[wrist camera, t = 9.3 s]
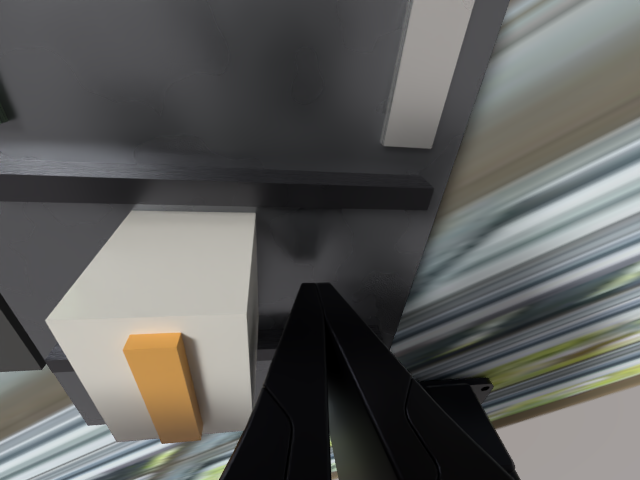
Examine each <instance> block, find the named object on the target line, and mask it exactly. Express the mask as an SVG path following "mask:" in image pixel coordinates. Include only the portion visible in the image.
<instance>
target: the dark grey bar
mask: <svg viewBox="0 0 640 480" xmlns="http://www.w3.org/2000/svg"><path fill="white" fill-rule="evenodd" d="M45 365H46V362H45V360H44V358H43V357H42V355H41V354H40V352H39V351H38V349H37V348H36V346H35V344H34V343H33V341H32V340H31V338H30V337H29V335H28V334H27V332H26V331H25V329H24V328H23V326H22V325H21V323H20V322H19V320H18V319H17V317H16V316H15V314H14V313H13V311H12V310H11V308H10V307H9V305H8V304H7V302H6V301H5V299H4V298H3V296H2V295H1V293H0V372H9V371H28V370H42V369H43V367H44V366H45Z"/></svg>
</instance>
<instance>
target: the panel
mask: <svg viewBox="0 0 640 480" xmlns="http://www.w3.org/2000/svg"><path fill="white" fill-rule="evenodd" d="M509 1H510V0H0V293H1V295H2V296H3V298H4V299H5V301H6V302H7V304H8V305H9V307H10V308H11V310H12V311H13V313H14V314H15V316H16V317H17V319H18V320H19V322H20V323H21V325H22V326H23V328H24V329H25V331H26V332H27V334H28V335H29V337H30V338H31V340H32V341H33V343H34V344H35V346H36V348H37V349H38V351H39V352H40V354H41V355H42V357H43V358H44V360H45V362H46V364H47V365H48V367H49V368H50V370H51V371H52V373H54V375H55V376H56V378H57V379H58V381H59V382H60V384H61V385H62V387H63V388H64V390H65V391H66V393H67V394H68V396H69V397H70V399H71V400H72V402H73V404H74V405H75V407H76V408H77V410H78V411H79V413H80V414H81V416H82V417H83V419H84V420H85V422H86V423H87V425H88V426H90V425H102V424H106V423H105V421H104V419H103V418H102V416H101V414H100V413H99V411H98V409H97V408H96V406H95V404H94V403H93V401H92V399H91V397H90V396H89V394H88V392H87V391H86V389H85V387H84V386H83V384H82V382H81V381H80V379H79V377H78V375H77V374H76V372H75V370H74V369H73V367H72V365H71V364H70V362H69V360H68V359H67V357H66V355H65V354H64V352H63V350H62V348H61V347H60V345H59V343H58V342H57V340H56V338H55V337H54V335H53V333H52V332H51V330H50V328H49V326H48V325H47V323H46V321H45V320H46V319H47V317H48V316H49V315H50V314H51V312H52V311H53V310H54V308H55V307H56V306H57V305H58V303H59V302H60V301H61V300H62V298H63V297H64V296H65V294H66V293H67V292H68V291H69V289H70V288H71V287H72V286H73V284H74V283H75V282H76V280H77V279H78V278H79V277H80V275H81V274H82V273H83V272H84V270H85V269H86V268H87V266H88V265H89V264H90V263H91V261H92V260H93V259H94V258H95V256H96V255H97V254H98V252H99V251H100V250H101V249H102V247H103V246H104V245H105V244H106V242H107V241H108V240H109V239H110V237H111V236H112V235H113V233H114V232H115V231H116V230H117V228H118V227H119V226H120V225H121V223H122V222H123V221H124V219H125V218H126V217H127V216H128V214H129V213H130V212H131V211H185V212H240V213H256V241H257V277H258V313H259V321H258V342H257V363H256V384H255V403H256V400H257V398H258V395H259V393H260V390H261V388H262V386H263V383H264V380H265V377H266V375H267V372H268V370H269V367H270V364H271V362H272V359H273V356H274V354H275V351H276V349H277V346H278V343H279V341H280V338H281V335H282V333H283V330H284V328H285V325H286V322H287V320H288V317H289V314H290V312H291V309H292V307H293V304H294V301H295V299H296V296H297V293H298V291H299V288H300V286H301V284H302V283H323V282H328V283H331V284H332V285H333V286H334V288H335V289H336V290H337V291H338V292H339V293H340V294H341V295H342V297H343V298H344V299H345V300H346V301H347V302H348V303H349V305H350V306H351V307H352V308H353V309H354V310H355V311H356V313H357V314H358V315H359V316H360V317H361V318H362V319H363V321H364V322H365V323H366V324H367V325H368V326H369V327H370V329H371V330H372V331H373V332H374V333H375V334H376V335H377V337H378V338H379V339H380V340H381V341H382V342H383V343H384V344H385V346H386V347H387V348H388V349H389V350H390V348H391V345H392V342H393V339H394V336H395V333H396V330H397V327H398V324H399V321H400V318H401V316H402V313H403V310H404V307H405V304H406V301H407V298H408V295H409V292H410V289H411V286H412V284H413V281H414V278H415V275H416V272H417V269H418V266H419V263H420V260H421V257H422V254H423V252H424V249H425V246H426V243H427V240H428V237H429V234H430V231H431V228H432V225H433V222H434V220H435V217H436V214H437V211H438V208H439V205H440V202H441V199H442V196H443V193H444V190H445V188H446V185H447V182H448V179H449V176H450V173H451V170H452V167H453V164H454V161H455V158H456V156H457V153H458V150H459V147H460V144H461V141H462V138H463V135H464V132H465V129H466V127H467V124H468V121H469V118H470V115H471V112H472V109H473V106H474V103H475V100H476V97H477V95H478V92H479V89H480V86H481V83H482V80H483V77H484V74H485V71H486V68H487V65H488V63H489V60H490V57H491V54H492V51H493V48H494V45H495V42H496V39H497V36H498V33H499V31H500V28H501V25H502V22H503V19H504V16H505V13H506V10H507V7H508V4H509ZM254 406H255V405H254Z"/></svg>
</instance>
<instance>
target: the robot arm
mask: <svg viewBox="0 0 640 480" xmlns="http://www.w3.org/2000/svg"><path fill="white" fill-rule="evenodd" d="M411 378H412V375H411V374H410V373H409V372H408V371H407V370H406V368H405V367H404V366H403V365H402V364H401V363H400V362H399V360H398V359H397V358H396V357H395V356H394V355H393V354H392V352H391V351H390V350H389V349H388V348H387V347H386V346H385V344H384V343H383V342H382V341H381V340H380V339H379V338H378V337H377V335H376V334H375V333H374V332H373V331H372V330H371V329H370V327H369V326H368V325H367V324H366V323H365V322H364V321H363V319H362V318H361V317H360V316H359V315H358V314H357V313H356V311H355V310H354V309H353V308H352V307H351V306H350V305H349V303H348V302H347V301H346V300H345V299H344V298H343V297H342V295H341V294H340V293H339V292H338V291H337V290H336V289H335V288H334V286H333V285H332V284H331V283H328V282H323V283H302V284H301V286H300V288H299V291H298V293H297V296H296V299H295V301H294V304H293V307H292V309H291V312H290V314H289V317H288V320H287V322H286V325H285V328H284V330H283V333H282V335H281V338H280V341H279V343H278V346H277V349H276V351H275V354H274V356H273V359H272V362H271V364H270V367H269V370H268V372H267V375H266V377H265V380H264V383H263V386H262V388H261V390H260V393H259V395H258V398H257V400H256V403H255V406H254V408H253V410H252V413H251V415H250V417H249V420H248V422H247V425H246V427H245V429H244V431H243V433H242V435H241V437H240V439H239V441H238V444H237V446H236V448H235V450H234V452H233V454H232V456H231V458H230V460H229V462H228V463H227V465H226V467H225V469H224V471H223V473H222V475H221V477H220V479H219V480H331V457H330V437H331V442H332V448H333V453H334V458H335V463H336V468H337V473H338V478H339V480H520V478H519V476H518V474H517V472H516V471H515V465H514V462H513V460H512V459H511V457H510V455H509V453H508V452H507V450H506V448H505V447H504V444H503V443H502V441H501V439H500V437H499V436H498V434H497V432H496V430H495V428H494V427H493V425H492V423H491V421H490V419H489V418H488V416H487V414H486V412H485V410H484V409H483V407H482V405H481V404H482V403H483V401H484V400H485V398H486V397H487V396H488V394H489V393H490V391H491V390H492V389H493V387H494V386H493V384H492V382H491V381H490V379H489V378H486V377H484V378H470V379H457V380H443V381H429V382H417V381H416V380H415V379H414V378H412V379H411Z"/></svg>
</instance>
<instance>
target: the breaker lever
mask: <svg viewBox="0 0 640 480" xmlns="http://www.w3.org/2000/svg"><path fill="white" fill-rule="evenodd" d="M45 321H46V323H47V325H48V326H49V328H50V330H51V332H52V333H53V335H54V337H55V338H56V340H57V342H58V343H59V345H60V347H61V348H62V350H63V352H64V354H65V355H66V357H67V359H68V360H69V362H70V364H71V365H72V367H73V369H74V370H75V372H76V374H77V375H78V377H79V379H80V381H81V382H82V384H83V386H84V387H85V389H86V391H87V392H88V394H89V396H90V397H91V399H92V401H93V403H94V404H95V406H96V408H97V409H98V411H99V413H100V414H101V416H102V418H103V419H104V421H105V423H106V425H107V426H108V428H109V430H110V431H111V433H112V435H113V436H114V438H115V440H116V441H117V442H125V441H136V440H147V439H158V438H160V441H161V443H162V444H165V443H176V442H187V441H197V440H201V436H202V434H213V433H224V432H235V431H244V429H245V427H246V425H247V422H248V420H249V417H250V415H251V413H252V410H253V408H254V405H255V384H256V363H257V342H258V321H259V313H258V277H257V241H256V213H240V212H185V211H131V212H130V213H129V214H128V216H127V217H126V218H125V219H124V221H123V222H122V223H121V225H120V226H119V227H118V228H117V230H116V231H115V232H114V233H113V235H112V236H111V237H110V239H109V240H108V241H107V242H106V244H105V245H104V246H103V247H102V249H101V250H100V251H99V252H98V254H97V255H96V256H95V258H94V259H93V260H92V261H91V263H90V264H89V265H88V266H87V268H86V269H85V270H84V272H83V273H82V274H81V275H80V277H79V278H78V279H77V280H76V282H75V283H74V284H73V286H72V287H71V288H70V289H69V291H68V292H67V293H66V294H65V296H64V297H63V298H62V300H61V301H60V302H59V303H58V305H57V306H56V307H55V308H54V310H53V311H52V312H51V314H50V315H49V316H48V317H47V319H46V320H45Z"/></svg>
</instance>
